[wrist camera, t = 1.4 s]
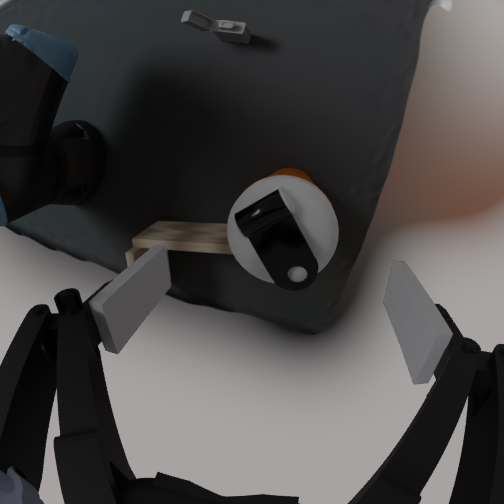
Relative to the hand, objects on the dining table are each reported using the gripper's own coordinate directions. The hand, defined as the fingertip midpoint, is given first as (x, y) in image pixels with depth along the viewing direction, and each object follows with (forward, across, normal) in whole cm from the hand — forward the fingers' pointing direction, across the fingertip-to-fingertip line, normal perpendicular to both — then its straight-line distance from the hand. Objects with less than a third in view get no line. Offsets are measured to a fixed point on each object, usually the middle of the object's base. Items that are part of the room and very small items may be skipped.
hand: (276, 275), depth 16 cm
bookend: (+24, -13, -10) cm, 29 cm away
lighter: (+24, -9, +23) cm, 35 cm away
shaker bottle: (+24, 0, 0) cm, 24 cm away
